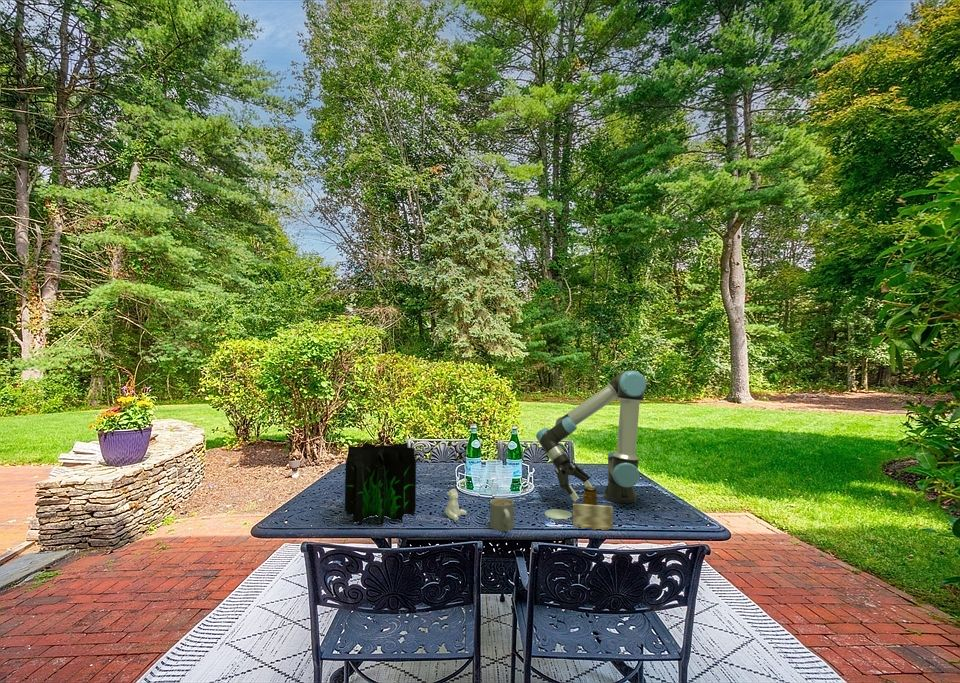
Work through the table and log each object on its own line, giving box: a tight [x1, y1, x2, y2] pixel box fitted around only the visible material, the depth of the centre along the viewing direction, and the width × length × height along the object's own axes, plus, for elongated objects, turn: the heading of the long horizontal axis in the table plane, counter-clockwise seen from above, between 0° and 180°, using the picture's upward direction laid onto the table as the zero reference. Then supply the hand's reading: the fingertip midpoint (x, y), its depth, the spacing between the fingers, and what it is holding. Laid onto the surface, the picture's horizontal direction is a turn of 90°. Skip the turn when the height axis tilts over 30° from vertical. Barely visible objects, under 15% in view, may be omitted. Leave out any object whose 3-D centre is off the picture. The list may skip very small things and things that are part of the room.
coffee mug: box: [489, 497, 515, 532], centre depth 180 cm, size 13×10×10 cm
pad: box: [544, 508, 573, 520], centre depth 195 cm, size 12×12×1 cm
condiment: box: [582, 486, 598, 505], centre depth 194 cm, size 7×8×12 cm
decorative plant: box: [344, 441, 417, 525], centre depth 196 cm, size 29×30×30 cm
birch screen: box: [572, 502, 614, 531], centre depth 181 cm, size 16×4×9 cm, turn 78°
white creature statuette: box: [444, 488, 467, 522], centre depth 193 cm, size 10×9×12 cm
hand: (585, 497), depth 196 cm, fingers open, 13 cm apart
